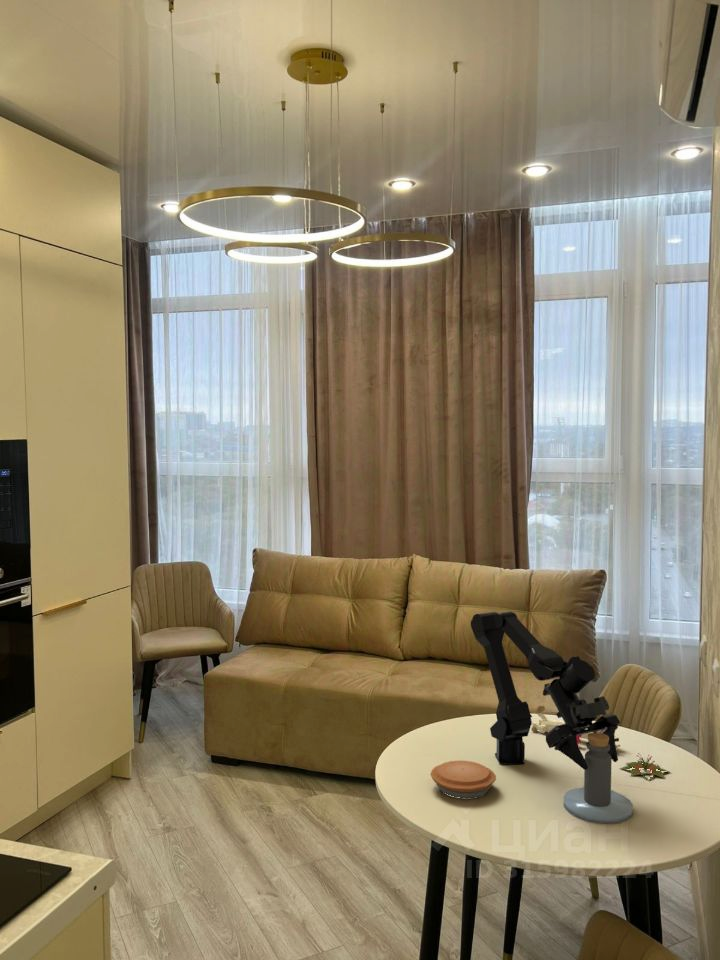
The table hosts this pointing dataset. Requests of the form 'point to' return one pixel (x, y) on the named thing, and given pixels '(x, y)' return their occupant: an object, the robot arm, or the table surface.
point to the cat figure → (550, 724)
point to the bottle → (597, 771)
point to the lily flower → (646, 766)
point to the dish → (608, 814)
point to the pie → (463, 778)
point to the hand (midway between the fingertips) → (601, 765)
